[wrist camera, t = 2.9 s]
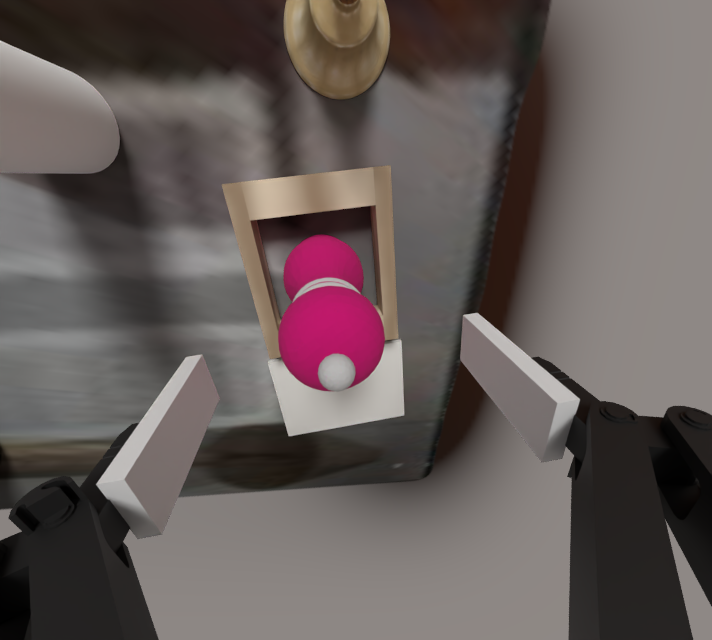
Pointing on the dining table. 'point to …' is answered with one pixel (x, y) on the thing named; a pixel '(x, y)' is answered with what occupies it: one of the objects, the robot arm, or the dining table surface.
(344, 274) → the pepper mill
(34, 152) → the cylindrical container
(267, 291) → the maple frame
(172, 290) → the dining table surface
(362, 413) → the plastic pad
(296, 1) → the hand bell
